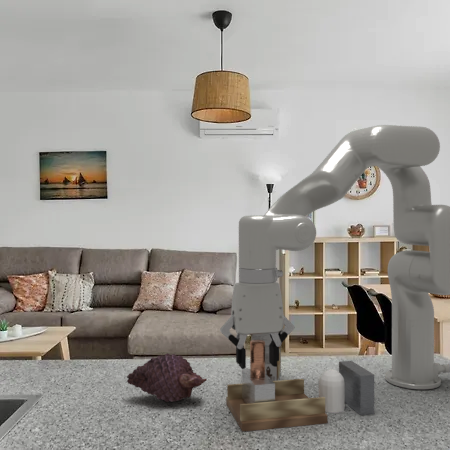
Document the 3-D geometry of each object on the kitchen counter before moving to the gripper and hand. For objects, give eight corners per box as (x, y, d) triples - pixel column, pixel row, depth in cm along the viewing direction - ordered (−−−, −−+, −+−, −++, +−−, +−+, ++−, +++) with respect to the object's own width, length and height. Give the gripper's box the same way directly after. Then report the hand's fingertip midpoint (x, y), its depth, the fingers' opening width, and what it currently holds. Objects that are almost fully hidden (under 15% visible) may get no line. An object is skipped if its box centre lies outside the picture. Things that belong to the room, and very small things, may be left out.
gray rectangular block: (351, 396, 110) (351, 360, 110) (374, 414, 100) (374, 374, 100) (338, 397, 109) (338, 361, 109) (360, 415, 100) (360, 375, 99)
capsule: (318, 402, 107) (318, 365, 107) (343, 403, 106) (343, 366, 106) (319, 412, 101) (319, 373, 101) (345, 413, 101) (345, 374, 100)
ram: (260, 396, 106) (260, 335, 105) (274, 414, 96) (274, 347, 96) (242, 397, 105) (241, 336, 104) (255, 416, 95) (254, 348, 95)
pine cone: (121, 407, 104) (120, 360, 104) (134, 391, 114) (133, 348, 114) (204, 410, 103) (204, 362, 102) (210, 393, 112) (210, 349, 112)
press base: (301, 397, 110) (301, 377, 110) (327, 423, 96) (327, 400, 96) (226, 403, 106) (226, 382, 106) (242, 431, 92) (242, 407, 92)
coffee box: (256, 373, 127) (256, 310, 126) (281, 374, 125) (281, 311, 125) (250, 385, 118) (250, 317, 117) (277, 387, 116) (277, 318, 116)
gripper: (291, 273, 105) (291, 358, 106) (211, 275, 102) (212, 363, 102) (304, 277, 98) (304, 368, 98) (219, 280, 94) (219, 374, 95)
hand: (257, 365), depth 100 cm, fingers open, 5 cm apart
